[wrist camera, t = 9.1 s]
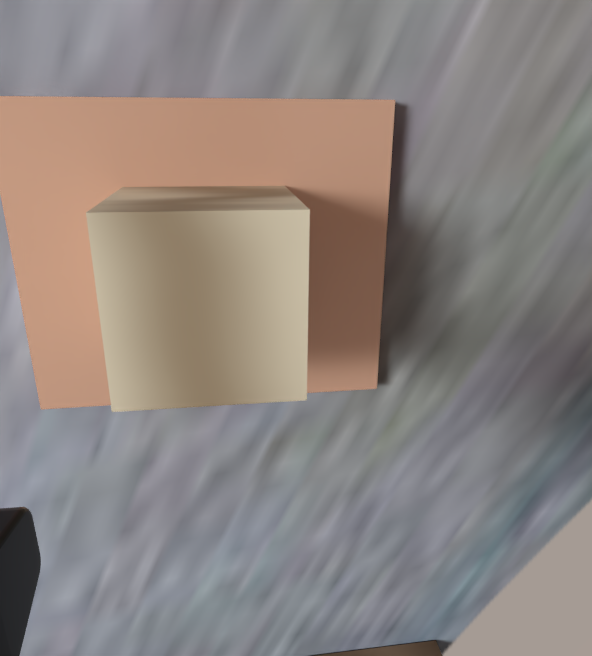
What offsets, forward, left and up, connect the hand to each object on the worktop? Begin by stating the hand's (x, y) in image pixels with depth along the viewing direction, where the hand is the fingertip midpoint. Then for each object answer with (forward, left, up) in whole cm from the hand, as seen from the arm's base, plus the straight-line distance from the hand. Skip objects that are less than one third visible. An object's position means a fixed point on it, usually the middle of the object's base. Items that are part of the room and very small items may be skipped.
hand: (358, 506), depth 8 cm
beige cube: (+2, -1, -11) cm, 12 cm away
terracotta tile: (+2, -1, -12) cm, 12 cm away
